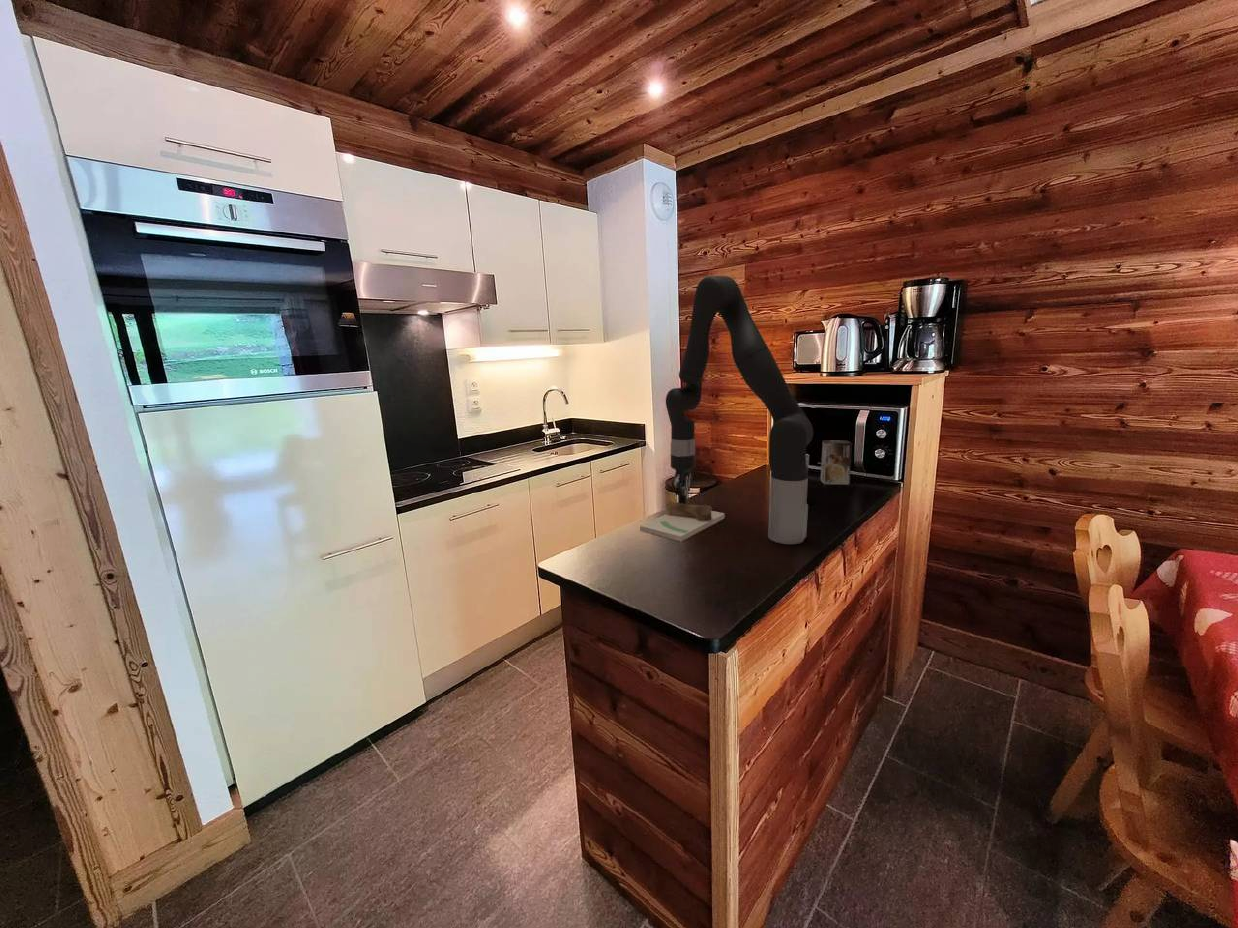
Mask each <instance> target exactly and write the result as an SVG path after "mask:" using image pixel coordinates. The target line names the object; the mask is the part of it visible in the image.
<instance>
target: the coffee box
mask: <svg viewBox="0 0 1238 928" xmlns="http://www.w3.org/2000/svg"><path fill="white" fill-rule="evenodd" d="M852 449H853V443H852V442H851V441H849V440H846V439H845V440H844V439H840V440H837V439H836V440H835V439H834V440H831V439H830V440H829V439H826V440H825V439H823V440H822V449H821V465H820V466H821V467H820V481H821V482H822V483H823V485H844V486H845V485H847V486H849V485H850V483H851V482H850V481H851V467H852V466H851V463H852V452H853V451H852Z"/></svg>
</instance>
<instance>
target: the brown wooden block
mask: <svg viewBox="0 0 1238 928" xmlns="http://www.w3.org/2000/svg"><path fill="white" fill-rule="evenodd" d="M712 509H713V508H712V506H711V505H708V504H699V505H698V504H689V503H687V504H684V503H679V502H675V501H667V502H666V514H671V515H679V516H686V517H693V518H697V519H699V520H710V519H711V511H712Z"/></svg>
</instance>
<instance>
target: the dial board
mask: <svg viewBox="0 0 1238 928" xmlns="http://www.w3.org/2000/svg"><path fill="white" fill-rule="evenodd" d="M724 519H725V513H724V512H721V511H720V512H718V511H715V510H711V519H710V520H699V519H697V518H693V517H686V516H679V515H671V514H667V513H666V514H663V515H661V516H659V517H657V518H654V519H652V520H650V521H648V522H645V523H643V524H640V527H639V530H640V532H644V533H647V534H651V535H655V536H658V537H663V538H666V539H669V540H673V541H676V542H683V541H685V540H687V539H688V538H691V537H692V536H694V535H696V534H698V533H700V532H701V531H703V530H705V529H707V528H709V527H711V526H712V525H715V524H717V523H718V522H720V521H722V520H724Z"/></svg>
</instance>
